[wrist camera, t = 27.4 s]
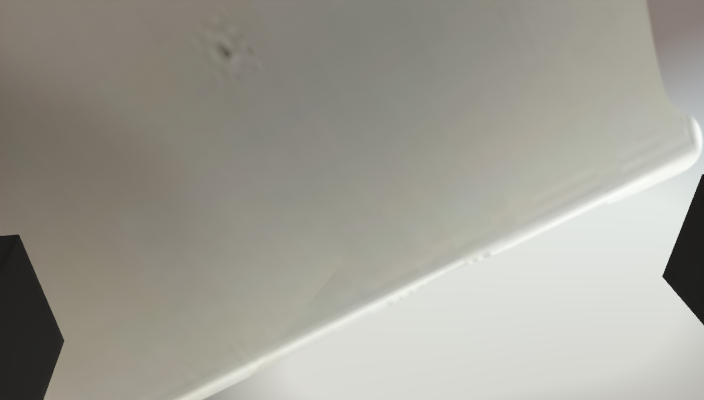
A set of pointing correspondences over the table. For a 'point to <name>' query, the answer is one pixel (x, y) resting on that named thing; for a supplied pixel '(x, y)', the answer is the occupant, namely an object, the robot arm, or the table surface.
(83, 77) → the table surface
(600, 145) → the table surface
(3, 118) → the table surface
